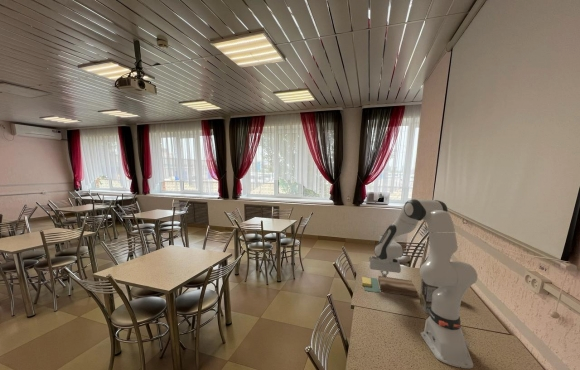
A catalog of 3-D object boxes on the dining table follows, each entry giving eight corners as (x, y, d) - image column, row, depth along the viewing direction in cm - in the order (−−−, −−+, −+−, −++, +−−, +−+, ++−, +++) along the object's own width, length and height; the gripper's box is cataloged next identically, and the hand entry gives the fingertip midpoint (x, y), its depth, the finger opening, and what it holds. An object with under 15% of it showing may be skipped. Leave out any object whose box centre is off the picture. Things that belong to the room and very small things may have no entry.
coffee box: (437, 314, 125) (439, 288, 124) (425, 313, 126) (427, 286, 125) (430, 305, 134) (432, 280, 133) (419, 303, 135) (420, 278, 134)
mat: (380, 293, 146) (380, 292, 146) (364, 290, 149) (364, 290, 149) (377, 278, 165) (377, 278, 165) (363, 276, 168) (363, 276, 168)
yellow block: (362, 282, 154) (362, 285, 155) (371, 284, 153) (371, 286, 153) (361, 276, 163) (361, 279, 163) (370, 278, 161) (370, 280, 162)
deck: (416, 296, 143) (417, 291, 142) (380, 290, 149) (380, 285, 148) (411, 286, 156) (411, 280, 156) (378, 280, 162) (378, 275, 162)
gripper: (369, 257, 152) (368, 276, 153) (401, 260, 147) (400, 280, 148) (369, 254, 159) (368, 272, 159) (399, 257, 153) (398, 276, 154)
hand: (384, 276), depth 153 cm, fingers closed
